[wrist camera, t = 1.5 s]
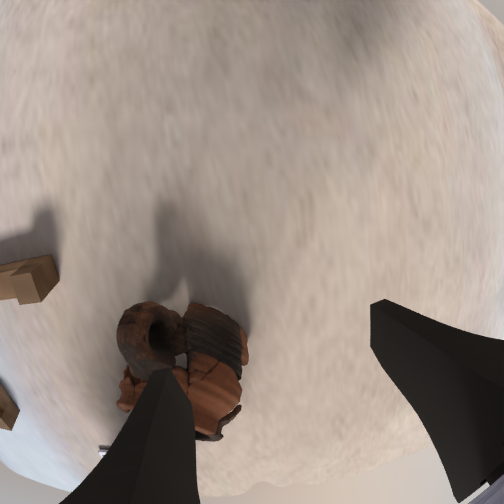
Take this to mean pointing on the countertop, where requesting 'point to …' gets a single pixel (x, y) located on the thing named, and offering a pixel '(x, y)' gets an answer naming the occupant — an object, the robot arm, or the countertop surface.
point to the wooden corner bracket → (26, 291)
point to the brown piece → (198, 359)
